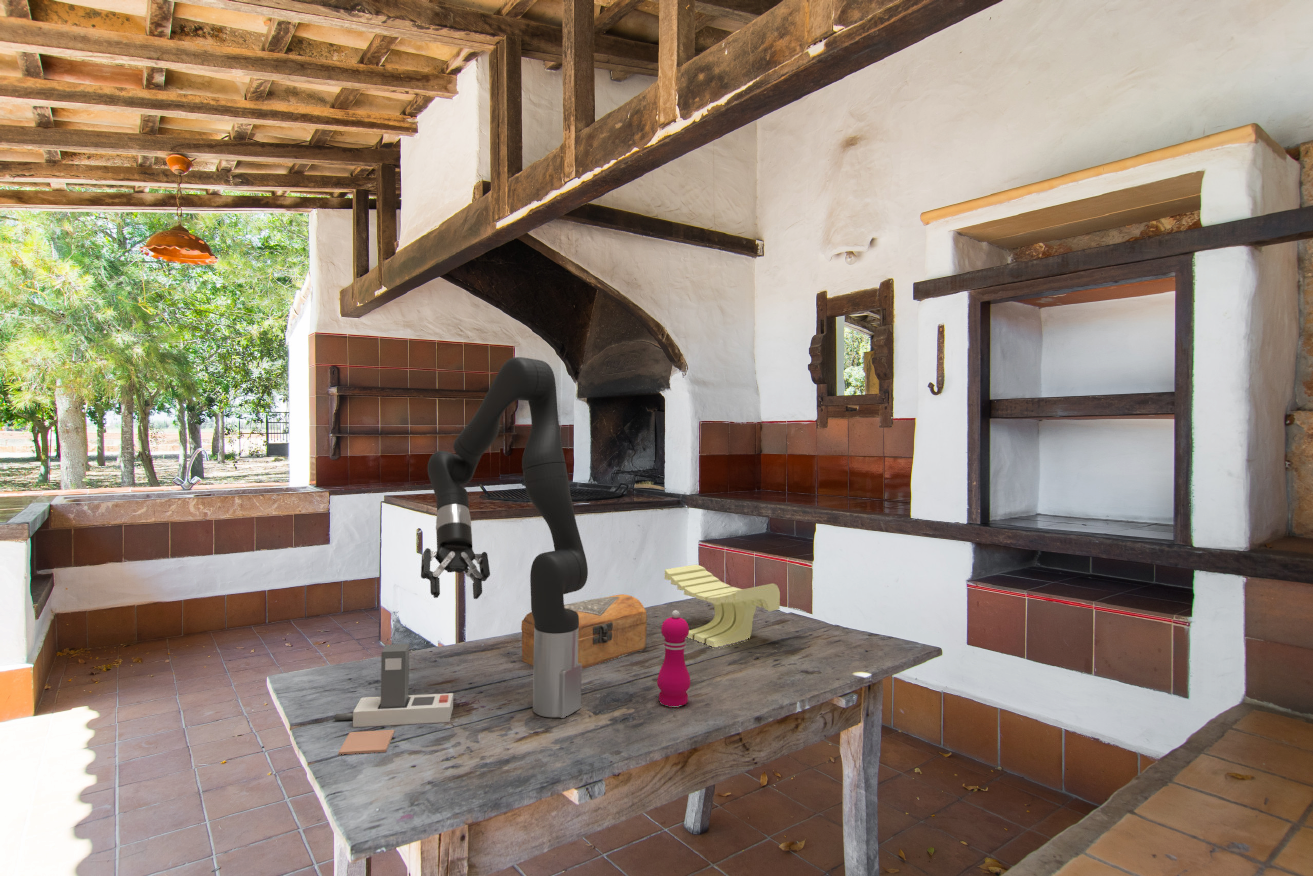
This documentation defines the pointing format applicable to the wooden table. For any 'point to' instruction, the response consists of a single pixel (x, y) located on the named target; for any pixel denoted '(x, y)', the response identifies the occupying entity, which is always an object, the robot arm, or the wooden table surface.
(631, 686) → the wooden table surface
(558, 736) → the wooden table surface
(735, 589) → the slatted curved stool
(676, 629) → the pepper mill
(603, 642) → the wooden box
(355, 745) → the tile coaster
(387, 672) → the block
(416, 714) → the power strip
